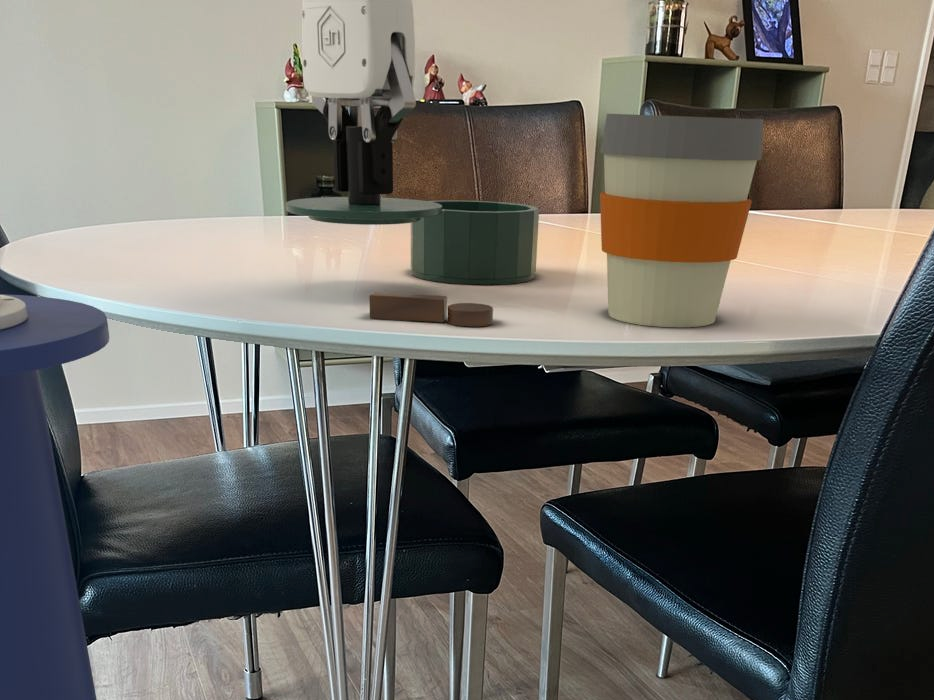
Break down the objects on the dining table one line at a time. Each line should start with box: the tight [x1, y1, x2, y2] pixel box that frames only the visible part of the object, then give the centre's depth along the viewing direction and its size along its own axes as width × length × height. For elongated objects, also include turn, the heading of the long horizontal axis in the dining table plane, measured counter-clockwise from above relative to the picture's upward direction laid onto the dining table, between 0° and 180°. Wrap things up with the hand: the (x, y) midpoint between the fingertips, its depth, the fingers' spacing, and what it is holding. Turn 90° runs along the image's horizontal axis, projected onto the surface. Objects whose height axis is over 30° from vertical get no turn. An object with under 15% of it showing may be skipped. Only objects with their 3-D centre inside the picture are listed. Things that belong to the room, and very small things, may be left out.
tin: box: [410, 199, 540, 286], centre depth 100 cm, size 13×13×6 cm
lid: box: [285, 126, 442, 226], centre depth 86 cm, size 14×14×7 cm
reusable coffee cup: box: [599, 113, 764, 328], centre depth 80 cm, size 13×13×15 cm
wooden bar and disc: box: [368, 291, 494, 328], centre depth 79 cm, size 10×4×2 cm, turn 82°
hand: (364, 190), depth 86 cm, fingers closed on lid, 2 cm apart
